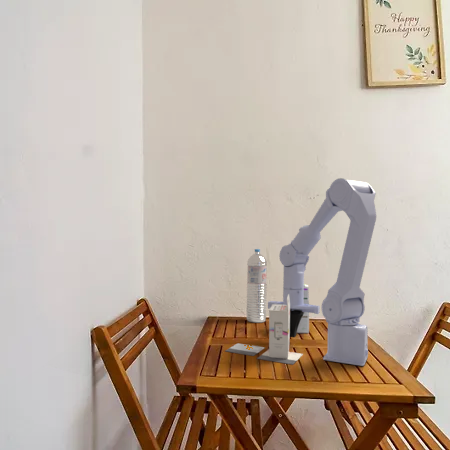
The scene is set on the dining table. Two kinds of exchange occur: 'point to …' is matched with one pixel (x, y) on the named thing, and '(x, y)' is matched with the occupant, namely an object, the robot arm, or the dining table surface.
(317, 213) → the robot arm
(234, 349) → the grey-blue label card
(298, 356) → the cream label card
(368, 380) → the dining table surface
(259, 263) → the water bottle
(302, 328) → the syrup box
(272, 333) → the ink cartridge box
